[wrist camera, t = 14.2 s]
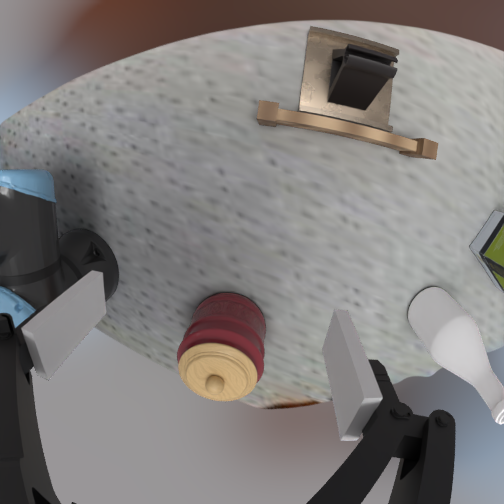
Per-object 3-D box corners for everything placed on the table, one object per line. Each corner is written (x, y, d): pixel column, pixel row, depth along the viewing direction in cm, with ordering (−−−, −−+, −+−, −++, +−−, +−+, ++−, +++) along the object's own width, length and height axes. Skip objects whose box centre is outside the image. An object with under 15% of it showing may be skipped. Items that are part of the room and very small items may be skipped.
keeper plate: (297, 113, 40) (299, 110, 38) (308, 33, 36) (310, 26, 33) (385, 132, 40) (392, 131, 37) (392, 54, 36) (399, 49, 33)
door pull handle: (259, 124, 41) (256, 118, 34) (261, 109, 41) (259, 100, 33) (411, 157, 41) (435, 159, 33) (413, 143, 40) (438, 143, 33)
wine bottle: (397, 321, 51) (466, 443, 22) (421, 278, 47) (517, 385, 19) (430, 332, 51) (500, 439, 23) (454, 292, 48) (543, 388, 20)
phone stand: (332, 50, 36) (351, 20, 24) (369, 59, 36) (399, 34, 24) (326, 102, 39) (345, 85, 27) (364, 111, 39) (395, 99, 27)
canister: (184, 297, 51) (150, 359, 35) (255, 283, 50) (247, 347, 33) (207, 354, 55) (187, 423, 39) (273, 344, 54) (272, 416, 37)
